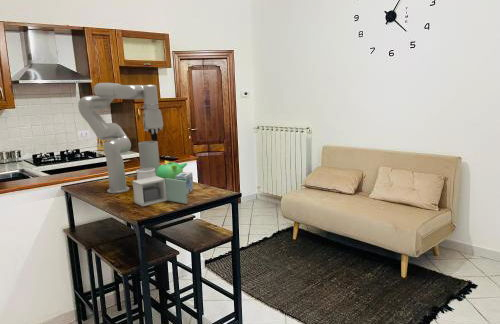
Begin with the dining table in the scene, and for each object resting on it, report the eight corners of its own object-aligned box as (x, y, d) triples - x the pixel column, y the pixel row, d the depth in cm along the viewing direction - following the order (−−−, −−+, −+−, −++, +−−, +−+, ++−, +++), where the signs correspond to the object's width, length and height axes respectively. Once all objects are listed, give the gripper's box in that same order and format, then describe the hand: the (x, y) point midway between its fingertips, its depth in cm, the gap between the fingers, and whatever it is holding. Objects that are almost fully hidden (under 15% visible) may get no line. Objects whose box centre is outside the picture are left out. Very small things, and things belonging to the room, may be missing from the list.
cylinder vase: (164, 177, 258) (161, 141, 254) (152, 181, 247) (149, 144, 242) (149, 176, 264) (146, 140, 259) (137, 180, 252) (134, 143, 248)
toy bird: (166, 179, 251) (164, 158, 248) (189, 180, 246) (187, 158, 243) (152, 186, 234) (150, 163, 231) (177, 187, 229) (175, 164, 226)
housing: (134, 202, 202) (132, 180, 200) (158, 196, 211) (156, 176, 208) (142, 206, 194) (140, 183, 192) (166, 200, 203) (165, 179, 201)
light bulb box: (187, 194, 213) (186, 176, 211) (176, 194, 215) (174, 176, 213) (193, 189, 224) (192, 171, 222) (183, 189, 225) (181, 171, 223)
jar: (147, 198, 209) (145, 171, 206) (134, 196, 215) (132, 170, 212) (161, 193, 218) (159, 168, 215) (148, 191, 223) (146, 166, 221)
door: (186, 203, 195) (184, 181, 192) (167, 200, 203) (165, 178, 200) (188, 202, 196) (186, 180, 194) (169, 199, 204) (167, 177, 202)
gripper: (141, 108, 199) (144, 142, 203) (167, 106, 209) (169, 139, 212) (135, 108, 205) (139, 141, 209) (160, 106, 214) (163, 138, 218)
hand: (154, 140), depth 210 cm, fingers closed
